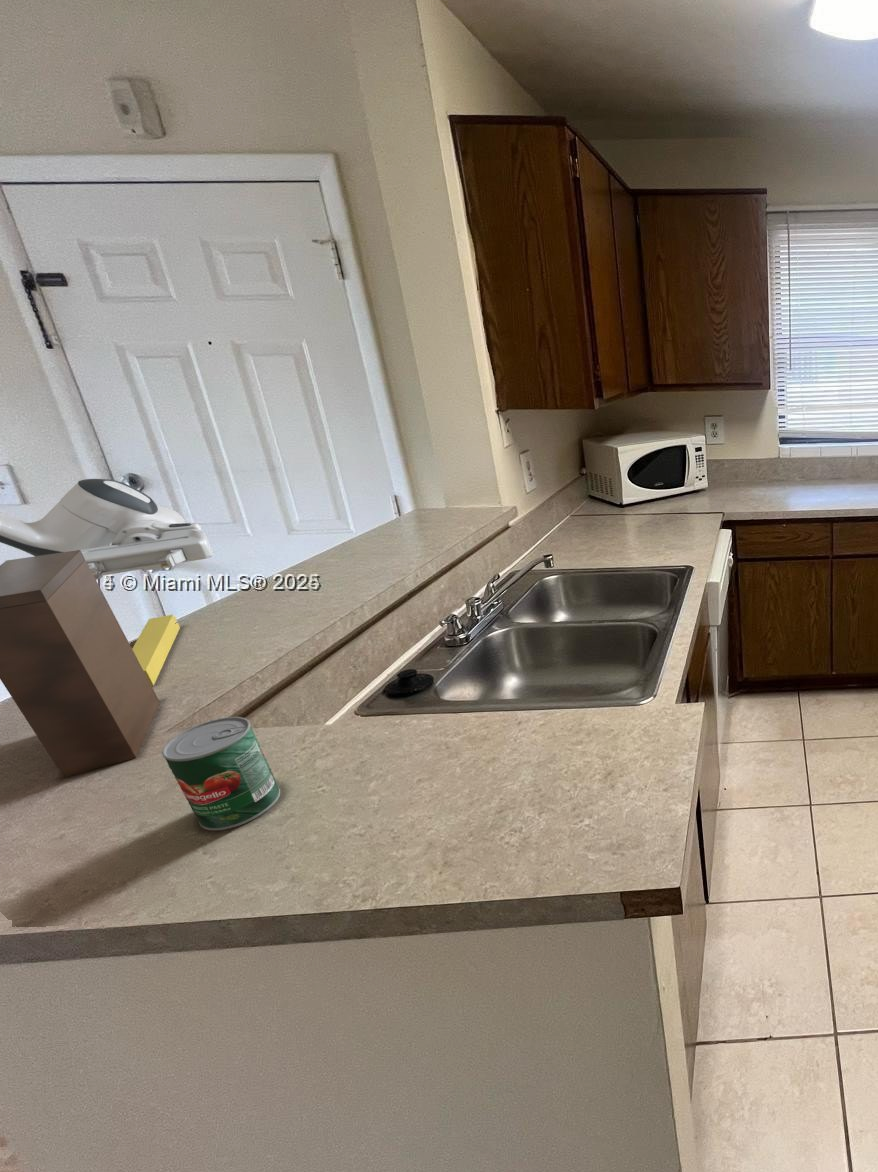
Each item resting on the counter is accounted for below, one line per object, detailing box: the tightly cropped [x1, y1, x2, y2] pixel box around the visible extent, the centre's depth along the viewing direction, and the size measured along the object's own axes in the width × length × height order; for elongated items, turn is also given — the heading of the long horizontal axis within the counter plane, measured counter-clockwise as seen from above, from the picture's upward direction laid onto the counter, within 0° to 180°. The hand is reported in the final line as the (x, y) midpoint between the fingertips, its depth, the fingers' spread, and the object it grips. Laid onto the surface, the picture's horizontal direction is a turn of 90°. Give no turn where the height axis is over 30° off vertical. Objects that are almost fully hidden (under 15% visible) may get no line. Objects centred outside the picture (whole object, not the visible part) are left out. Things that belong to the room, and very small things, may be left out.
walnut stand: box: [0, 550, 160, 778], centre depth 84 cm, size 7×16×26 cm, turn 35°
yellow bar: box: [131, 614, 181, 687], centre depth 108 cm, size 4×24×3 cm, turn 35°
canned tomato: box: [161, 716, 281, 832], centre depth 75 cm, size 8×8×11 cm
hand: (129, 569), depth 109 cm, fingers open, 8 cm apart
